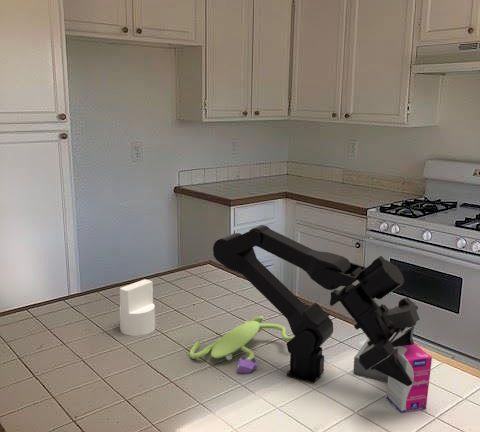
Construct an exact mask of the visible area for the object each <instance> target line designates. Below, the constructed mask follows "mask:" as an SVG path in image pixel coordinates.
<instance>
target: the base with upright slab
mask: <svg viewBox="0 0 480 432" xmlns="http://www.w3.org/2000/svg"><path fill="white" fill-rule="evenodd" d="M153 285H154V284H153V281H152V280H149V279H145V278H144V279H141V280H139V281H135V282H134V283H130V284H128V285H125V286H121V287H120V288H119V301H120V303H119V305H120V306H119V323H120V324H119V325H120V328H119V329H120V332H121V334H123V335H126V336H130V337H138V336H140V337H141V336H145V335H148V334H150V333H152V332H154V331H155V329H156V305H155V304H154V291H153V288H154V287H153Z"/></svg>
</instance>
